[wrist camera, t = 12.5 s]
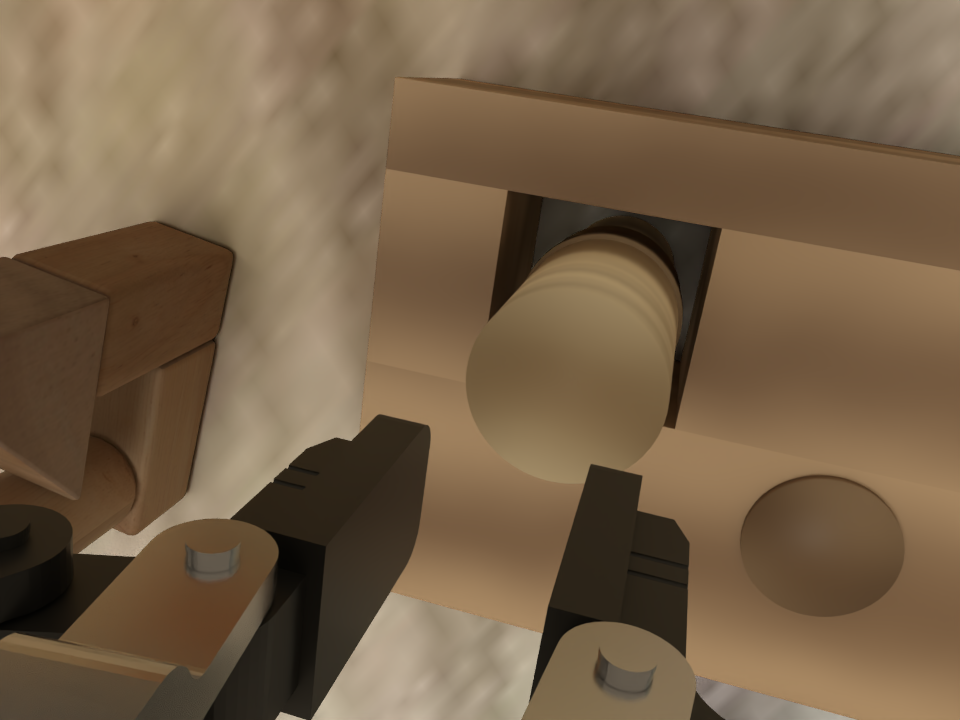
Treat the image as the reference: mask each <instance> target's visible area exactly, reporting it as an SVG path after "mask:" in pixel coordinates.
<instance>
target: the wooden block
mask: <svg viewBox="0 0 960 720" xmlns="http://www.w3.org/2000/svg"><path fill="white" fill-rule="evenodd" d="M232 262H233V253H231V252H230V251H229V250H227V249H225V248H223V247H220V246H217V245H215V244H212V243H210V242H207V241H204V240H202V239H199V238H197V237H194V236H191V235H189V234H186V233H183V232H181V231H178V230H176V229H173V228H170V227H168V226H165V225H162V224H160V223H157V222H146V223H142V224H138V225H134V226H130V227H126V228H122V229H118V230H114V231H110V232H106V233H102V234H98V235H94V236H89V237H85V238H81V239H77V240H73V241H69V242H65V243H61V244H57V245H53V246H49V247H45V248H41V249H37V250H33V251H29V252H25V253H20V254H17V255H15V256H14V257H13V258H12V259H10V258H8V257H1V258H0V469H2V470H5V471H4V472H2V473H0V505H7V504H25V505H35V506H40V507H45V508H48V509H52V510H54V511H56V512H58V513H60V514H62V515H63V516H65V517H66V518H67V519H68V520H69V522H70V523H71V526H72V528H73V554H78V553H79V552H81V551H82V550H83V549H85V548H86V547H87V546H89V545H90V544H91V543H93V542H94V541H95V540H97V539H98V538H99V537H101V536H102V535H103V534H105V533H106V532H107V531H109V530H110V529H111V528H113V529H116V530H118V531H120V532H123V533H125V534H127V535H136V534H138V533H139V532H140V531H142V530H143V529H144V528H145V527H147V526H148V525H149V524H151V523H152V522H153V521H154V520H156V519H157V518H158V517H159V516H161V515H162V514H163V513H164V512H166V511H167V510H168V509H170V508H171V507H172V506H173V505H175V504H176V503H177V502H178V501H180V500H181V499H182V498H183V497H184V495H185V493H186V489H187V484H188V479H189V474H190V469H191V464H192V459H193V454H194V450H195V445H196V440H197V435H198V430H199V425H200V420H201V415H202V410H203V405H204V400H205V395H206V390H207V385H208V380H209V375H210V370H211V365H212V360H213V355H214V350H215V342H214V341H212V340H211V339H213V338H214V337H215V336H216V335H217V333H218V331H219V327H220V322H221V317H222V312H223V307H224V302H225V297H226V292H227V287H228V282H229V277H230V272H231V267H232Z"/></svg>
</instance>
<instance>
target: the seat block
mask: <svg viewBox="0 0 960 720" xmlns="http://www.w3.org/2000/svg"><path fill="white" fill-rule="evenodd" d="M543 197H548V198H554V199H559V200H565V201H571V202H576V203H582V204H587V205H593V206H599V207H604V208H610V209H616V210H621V211H627V212H632V213H638V214H644V215H649V216H655V217H661V218H666V219H672V220H677V221H683V222H689V223H694V224H700V225H706V226H711V227H712V228H711V233H710V237H709V241H708V246H707V250H706V254H705V259H704V263H703V267H702V272H701V276H700V280H699V285H698V289H697V293H696V297H695V302H694V306H693V310H692V315H691V319H690V323H689V328H688V332H687V336H686V341H685V345H684V349H683V354H682V358H681V362H680V361H675V360H674V364H673V373H672V382H671V391H670V400H669V406H668V412H667V416H666V419H665V422H664V425H663V427H662V430H661V432H660V434H659V436H658V438H657V439H656V441H655V442H654V444H653V445H652V447H651V448H650V449H649V450H648V451H647V452H646V453H645V455H644V456H643V457H642V458H640V459H639V460H638V461H637V462H636V463H635V464H633V465H632V466H630V467H629V468H627V469H626V470H624V471H625V472H629V473H633V474H638V475H642V476H643V477H642V483H641V490H640V496H639V502H638V509H637V511H641V512H645V513H649V514H653V515H657V516H662V517H666V518H670V519H674V520H675V521H676V523H677V524H678V526H679V527H680V529H681V530H682V532H683V533H684V535H685V537H686V538H687V540H688V541H689V543H690V548H689V567H688V570H689V578H688V588H687V589H688V609H687V640H686V660H687V662H688V663H689V664H690V666H691V668H692V670H693V672H694V675H697V676H700V677H704V678H708V679H711V680H715V681H719V682H722V683H726V684H730V685H733V686H737V687H740V688H744V689H748V690H751V691H755V692H759V693H762V694H766V695H770V696H773V697H777V698H781V699H784V700H788V701H792V702H795V703H799V704H803V705H806V706H810V707H813V708H817V709H821V710H824V711H828V712H832V713H835V714H839V715H843V716H846V717H850V718H854V719H857V720H960V156H955V155H949V154H943V153H936V152H930V151H923V150H917V149H910V148H904V147H897V146H891V145H884V144H878V143H871V142H865V141H858V140H852V139H845V138H839V137H833V136H826V135H820V134H813V133H807V132H800V131H794V130H787V129H781V128H774V127H768V126H761V125H755V124H748V123H742V122H736V121H729V120H723V119H716V118H710V117H703V116H697V115H690V114H684V113H677V112H671V111H664V110H658V109H651V108H645V107H638V106H632V105H626V104H619V103H613V102H606V101H600V100H593V99H587V98H580V97H574V96H567V95H561V94H554V93H548V92H541V91H535V90H529V89H522V88H516V87H509V86H503V85H496V84H490V83H483V82H477V81H470V80H464V79H453V78H410V77H395V83H394V93H393V103H392V113H391V123H390V133H389V143H388V153H387V163H386V173H385V183H384V193H383V203H382V213H381V223H380V233H379V243H378V253H377V263H376V273H375V282H374V292H373V302H372V312H371V322H370V332H369V342H368V352H367V362H366V372H365V382H364V392H363V402H362V412H361V422H360V432H361V431H362V430H363V429H364V428H365V427H366V426H367V425H368V424H369V423H370V422H371V421H372V420H373V419H374V418H375V417H376V416H377V415H378V414H382V415H387V416H391V417H395V418H399V419H404V420H408V421H412V422H416V423H421V424H425V425H428V426H429V427H430V431H431V441H430V450H429V458H428V465H427V473H426V480H425V488H424V496H423V503H422V511H421V518H420V525H419V530H418V535H417V539H416V542H415V546H414V549H413V552H412V554H411V557H410V559H409V562H408V564H407V565H406V567H405V569H404V570H403V572H402V574H401V575H400V577H399V579H398V580H397V582H396V583H395V585H394V587H393V588H392V590H391V591H390V592H394V593H398V594H401V595H405V596H408V597H412V598H416V599H419V600H423V601H427V602H430V603H434V604H438V605H441V606H445V607H449V608H452V609H456V610H460V611H463V612H467V613H470V614H474V615H478V616H481V617H485V618H489V619H492V620H496V621H500V622H503V623H507V624H511V625H514V626H518V627H522V628H525V629H529V630H533V631H536V632H540V633H543V629H544V624H545V619H546V614H547V609H548V604H549V601H550V598H551V594H552V591H553V588H554V584H555V581H556V578H557V574H558V571H559V568H560V564H561V561H562V558H563V554H564V551H565V548H566V544H567V541H568V538H569V534H570V531H571V528H572V524H573V521H574V518H575V514H576V511H577V508H578V504H579V501H580V498H581V494H582V491H583V488H584V484H585V483H581V484H565V483H557V482H551V481H546V480H543V479H540V478H537V477H534V476H532V475H529V474H527V473H525V472H523V471H521V470H519V469H518V468H516V467H514V466H512V465H511V464H510V463H508V462H507V461H506V460H504V459H503V458H502V457H501V456H500V455H499V454H498V453H497V452H496V451H495V450H494V449H493V448H492V447H491V446H490V445H489V444H488V442H487V441H486V440H485V439H484V437H483V435H482V434H481V432H480V431H479V429H478V427H477V425H476V423H475V421H474V419H473V417H472V414H471V411H470V408H469V404H468V399H467V394H466V369H467V364H468V359H469V355H470V353H471V350H472V347H473V345H474V343H475V341H476V339H477V337H478V335H479V333H480V332H481V331H482V329H483V328H484V327H485V325H486V324H487V323H488V322H489V320H490V319H491V318H492V317H493V316H494V315H495V314H496V313H497V312H498V311H499V310H500V308H501V307H502V306H503V305H504V304H505V303H506V302H507V301H508V300H509V299H510V297H511V296H512V295H513V294H514V293H515V292H516V291H517V290H518V289H519V288H520V287H521V285H522V284H523V283H524V282H525V280H526V279H527V277H528V275H529V273H530V271H531V267H532V261H533V255H534V249H535V242H536V236H537V230H538V224H539V218H540V212H541V206H542V199H543ZM360 432H359V433H360Z"/></svg>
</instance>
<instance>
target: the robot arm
mask: <svg viewBox="0 0 960 720" xmlns="http://www.w3.org/2000/svg"><path fill="white" fill-rule="evenodd" d="M430 441H431V431H430V427H429V426H428V425H425V424H421V423H416V422H412V421H408V420H404V419H399V418H395V417H391V416H387V415H382V414H378V415H377V416H376V417H375V418H374V419H373V420H372V421H371V422H370V423H369V424H368V425H367V426H366V427H365V428H364V429H363V430H362V431H361V432H360V433H359V434H358V435H357V436H356V437H355V438H354V439H353V440H352V441H348V440H344V439H340V438H334V439H331V440H328V441H326V442H323V443H320V444H318V445H315V446H312V447H310V448H307V449H306V450H305V451H304V452H303V453H302V454H301V455H299V456H298V457H297V458H296V459H295V460H294V461H293V462H292V463H291V464H290V465H289V468H288V469H286V468H285V469H284V470H283V471H282V472H281V473H280V474H279V475H278V476H277V477H275V478H274V482H273V483H272V482H270V483H269V484H268V485H267V486H266V487H265V488H263V489H262V490H261V491H260V492H259V493H258V494H257V495H256V496H255V497H254V498H252V499H251V500H250V501H249V502H248V503H247V504H246V505H245V506H244V507H243V508H242V509H240V510H239V511H238V512H237V513H236V514H235V515H234V516H233V517H232V518H231V519H202V520H194V521H190V522H185V523H182V524H179V525H176V526H173V527H171V528H169V529H167V530H165V531H163V532H162V533H160V534H158V535H157V536H156V537H155V538H154V539H152V540H151V541H150V543H149V544H148V545H147V546H146V547H145V548H144V549H143V550H142V551H141V552H140V553H139V554H138V555H137V556H136V557H124V556H107V555H90V554H73V528H72V526H71V523H70V522H69V520H68V519H67V518H66V517H65V516H63V515H62V514H60V513H58V512H56V511H54V510H52V509H48V508H45V507H40V506H35V505H25V504H7V505H0V720H275V719H276V718H277V716H278V715H279V713H280V712H283V713H287V714H290V715H293V716H296V717H300V718H303V719H306V720H311V719H312V717H313V716H314V714H315V713H316V711H317V709H318V708H319V706H320V704H321V703H322V701H323V700H324V698H325V696H326V695H327V693H328V692H329V690H330V688H331V687H332V685H333V683H334V682H335V680H336V679H337V677H338V675H339V674H340V672H341V671H342V669H343V667H344V666H345V664H346V662H347V661H348V659H349V658H350V656H351V654H352V653H353V651H354V650H355V648H356V646H357V645H358V643H359V642H360V640H361V638H362V637H363V635H364V633H365V632H366V630H367V629H368V627H369V625H370V624H371V622H372V621H373V619H374V617H375V616H376V614H377V612H378V611H379V609H380V608H381V606H382V604H383V603H384V601H385V600H386V598H387V596H388V595H389V593H390V591H391V590H392V588H393V587H394V585H395V583H396V582H397V580H398V579H399V577H400V575H401V574H402V572H403V570H404V569H405V567H406V565H407V564H408V562H409V559H410V557H411V554H412V552H413V549H414V546H415V542H416V539H417V535H418V530H419V525H420V518H421V511H422V503H423V496H424V488H425V480H426V473H427V465H428V458H429V450H430ZM642 477H643V476H642V475H638V474H633V473H629V472H625V471H621V470H616V469H612V468H608V467H603V466H599V465H595V464H591V465H590V468H589V471H588V474H587V478H586V481H585V484H584V488H583V491H582V494H581V498H580V501H579V504H578V508H577V511H576V514H575V518H574V521H573V524H572V528H571V531H570V534H569V538H568V541H567V544H566V548H565V551H564V554H563V558H562V561H561V564H560V568H559V571H558V574H557V578H556V581H555V584H554V588H553V591H552V594H551V598H550V601H549V604H548V609H547V614H546V619H545V624H544V629H543V634H542V639H541V644H540V649H539V654H538V659H537V665H536V670H535V675H534V680H533V685H532V690H531V695H530V700H529V705H528V707H527V709H526V711H525V713H524V715H523V717H522V719H521V720H725V719H723V718H722V717H721V716H719V715H718V714H717V713H716V712H715V711H714V710H712V709H711V708H710V707H709V706H708V705H707V704H706V703H705V702H704V700H703V699H702V698H701V697H700V696H699V694H698V693H697V692H696V679H695V675H694V672H693V670H692V668H691V666H690V664H689V663H688V662H687V660H686V640H687V609H688V589H687V588H688V578H689V570H688V567H689V548H690V543H689V541H688V540H687V538H686V537H685V535H684V533H683V532H682V530H681V529H680V527H679V526H678V524H677V523H676V521H675V520H674V519H670V518H666V517H662V516H657V515H653V514H649V513H645V512H641V511H637V509H638V502H639V496H640V490H641V483H642Z"/></svg>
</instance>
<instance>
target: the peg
mask: <svg viewBox="0 0 960 720" xmlns="http://www.w3.org/2000/svg"><path fill="white" fill-rule="evenodd" d="M682 320H683V304H682V296H681V291H680V283H679V279H678V275H677V272H676V270H675V268H674V259H673V255H672V251H671V249H670V246H669V244H668V242H667V241H666V239H665V238H664V236H663V235H662V234H661V233H660V232H659V231H658V230H657V229H656V228H655V227H653V226H652V225H651V224H649V223H647V222H645V221H643V220H641V219H638V218H635V217H630V216H613V217H608V218H605V219H602V220H599V221H597V222H595V223H594V224H592V225H590V226H589V227H588V228H587V229H584V230H581V231H579V232H577V233H575V234H573V235H571V236H570V237H568V238H567V239H565V240H564V241H562V242H561V243H559V244H557V245H556V246H554V247H553V248H552V249H551V250H549V251H548V252H547V253H546V254H545V255H544V256H543V257H542V258H541V259H540V260H539V261H538V262H537V263H536V265H535V266H534V267H533V269H532V270H531V271H530V273H529V275H528V277H527V279H526V280H525V282H524V283H523V284H522V285H521V287H520V288H519V289H518V290H517V291H516V292H515V293H514V294H513V295H512V296H511V297H510V299H509V300H508V301H507V302H506V303H505V304H504V305H503V306H502V307H501V308H500V310H499V311H498V312H497V313H496V314H495V315H494V316H493V317H492V318H491V319H490V320H489V322H488V323H487V324H486V325H485V327H484V328H483V329H482V331H481V332H480V333H479V335H478V337H477V339H476V341H475V343H474V345H473V347H472V350H471V353H470V355H469V359H468V364H467V369H466V394H467V399H468V404H469V408H470V411H471V414H472V417H473V419H474V421H475V423H476V425H477V427H478V429H479V431H480V432H481V434H482V435H483V437H484V439H485V440H486V441H487V442H488V444H489V445H490V446H491V447H492V448H493V449H494V450H495V451H496V452H497V453H498V454H499V455H500V456H501V457H502V458H503V459H504V460H506V461H507V462H508V463H510V464H511V465H512V466H514V467H516V468H518V469H519V470H521V471H523V472H525V473H527V474H529V475H532V476H534V477H537V478H540V479H543V480H546V481H551V482H557V483H565V484H581V483H585V481H586V478H587V474H588V471H589V468H590V465H591V464H595V465H599V466H603V467H608V468H612V469H616V470H621V471H624V470H626V469H627V468H629V467H630V466H632V465H633V464H635V463H636V462H637V461H638V460H639V459H640V458H642V457H643V456H644V455H645V453H646V452H647V451H648V450H649V449H650V448H651V447H652V445H653V444H654V442H655V441H656V439H657V438H658V436H659V434H660V432H661V430H662V427H663V425H664V422H665V419H666V416H667V412H668V406H669V400H670V391H671V382H672V373H673V364H674V355H675V348H676V345H677V343H678V340H679V337H680V333H681V327H682Z"/></svg>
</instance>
